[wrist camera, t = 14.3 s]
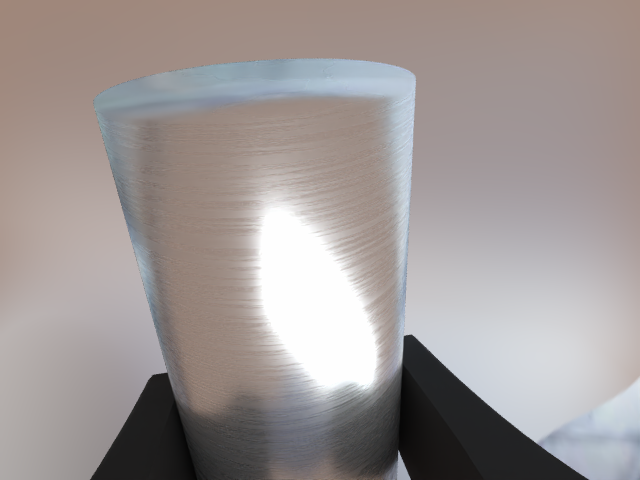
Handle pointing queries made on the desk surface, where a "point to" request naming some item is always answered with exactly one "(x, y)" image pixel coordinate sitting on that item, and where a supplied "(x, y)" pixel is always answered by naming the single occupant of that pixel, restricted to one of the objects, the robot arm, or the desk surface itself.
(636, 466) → the desk surface
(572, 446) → the desk surface
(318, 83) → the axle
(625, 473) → the desk surface
